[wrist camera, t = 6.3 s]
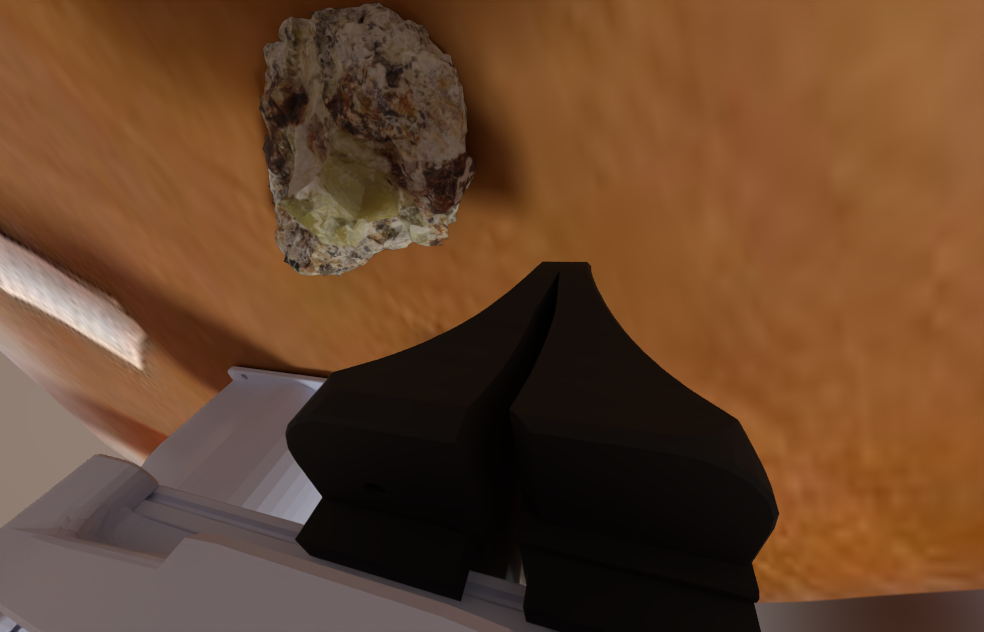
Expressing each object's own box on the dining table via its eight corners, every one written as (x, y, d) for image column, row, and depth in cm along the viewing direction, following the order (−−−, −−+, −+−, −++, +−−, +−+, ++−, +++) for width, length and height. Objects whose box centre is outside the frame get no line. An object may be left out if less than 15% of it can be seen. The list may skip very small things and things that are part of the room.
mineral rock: (248, -152, 8) (477, 150, 8) (390, -64, 11) (546, 145, 11) (190, 189, 14) (315, 348, 15) (290, 179, 18) (390, 307, 18)
